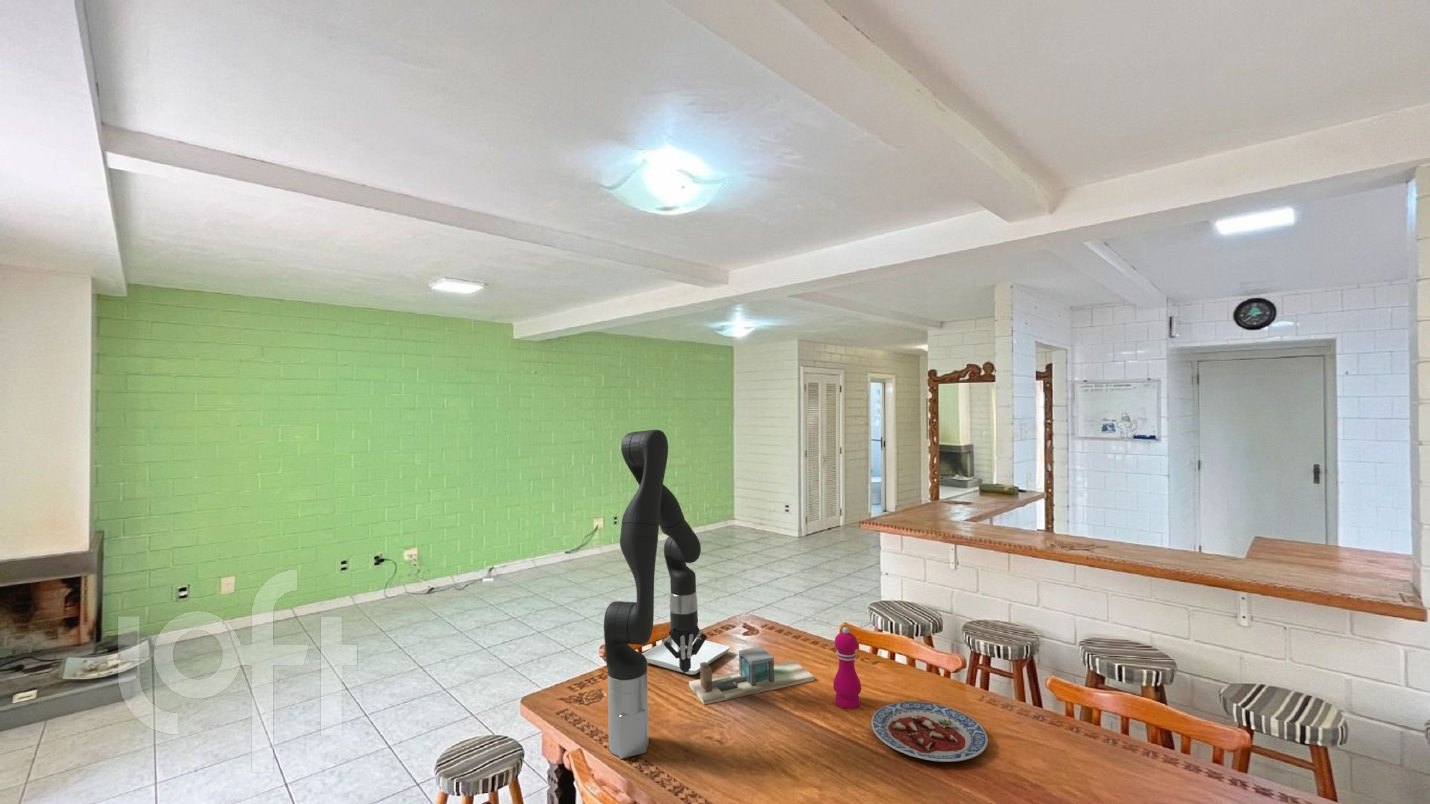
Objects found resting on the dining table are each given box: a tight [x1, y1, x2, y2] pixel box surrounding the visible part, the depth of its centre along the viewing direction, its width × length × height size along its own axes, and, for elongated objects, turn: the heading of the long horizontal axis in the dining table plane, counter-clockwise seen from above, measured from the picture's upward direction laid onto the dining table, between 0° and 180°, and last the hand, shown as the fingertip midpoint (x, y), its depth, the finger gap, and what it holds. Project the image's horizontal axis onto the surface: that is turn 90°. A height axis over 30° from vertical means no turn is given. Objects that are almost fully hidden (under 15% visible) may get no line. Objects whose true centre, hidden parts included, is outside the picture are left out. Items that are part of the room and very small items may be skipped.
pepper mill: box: [832, 626, 862, 710], centre depth 155 cm, size 7×7×20 cm
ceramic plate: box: [871, 701, 989, 763], centre depth 138 cm, size 26×26×3 cm
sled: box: [699, 658, 768, 692], centre depth 165 cm, size 5×19×6 cm, turn 112°
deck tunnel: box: [688, 646, 815, 705], centre depth 167 cm, size 12×34×8 cm, turn 112°
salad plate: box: [642, 637, 731, 676], centre depth 184 cm, size 21×21×3 cm
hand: (685, 670), depth 161 cm, fingers closed
